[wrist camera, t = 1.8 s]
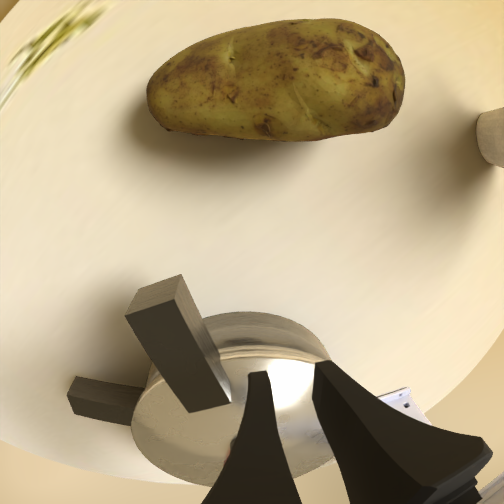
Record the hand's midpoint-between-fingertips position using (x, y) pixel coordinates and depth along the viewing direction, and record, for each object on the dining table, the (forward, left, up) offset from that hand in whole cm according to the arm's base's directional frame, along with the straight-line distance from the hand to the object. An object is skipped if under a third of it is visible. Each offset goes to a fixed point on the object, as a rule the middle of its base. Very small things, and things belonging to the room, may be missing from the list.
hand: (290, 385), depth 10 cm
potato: (-1, -13, -11) cm, 17 cm away
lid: (+2, +8, -5) cm, 10 cm away
